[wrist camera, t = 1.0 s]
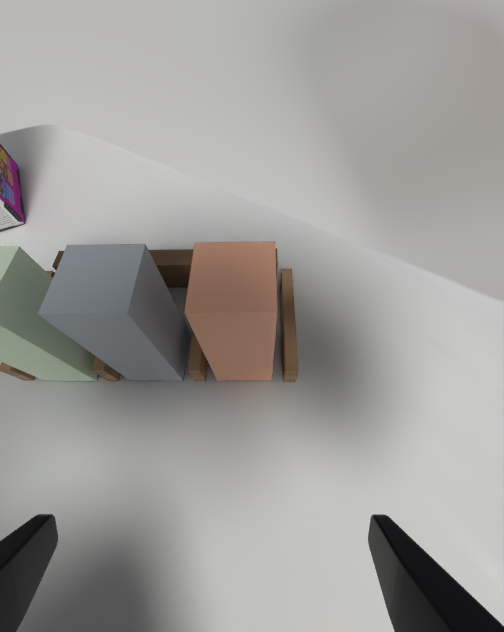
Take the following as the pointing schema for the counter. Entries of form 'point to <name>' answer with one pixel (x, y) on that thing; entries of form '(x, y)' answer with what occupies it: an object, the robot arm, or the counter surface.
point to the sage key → (35, 325)
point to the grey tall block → (119, 310)
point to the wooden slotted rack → (177, 274)
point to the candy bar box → (9, 193)
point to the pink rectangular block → (234, 307)
